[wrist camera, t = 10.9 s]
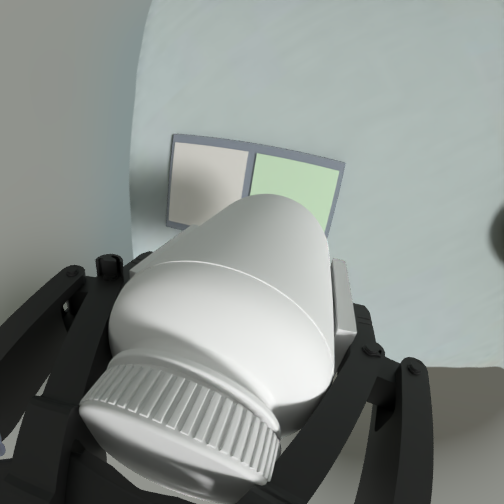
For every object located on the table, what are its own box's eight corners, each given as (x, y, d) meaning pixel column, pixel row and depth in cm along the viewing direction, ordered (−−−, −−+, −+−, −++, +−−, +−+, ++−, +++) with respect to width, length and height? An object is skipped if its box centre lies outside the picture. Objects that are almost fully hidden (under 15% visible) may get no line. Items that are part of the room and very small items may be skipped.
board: (176, 133, 30) (172, 133, 29) (344, 162, 27) (345, 163, 26) (169, 224, 35) (165, 226, 34) (319, 260, 32) (319, 264, 31)
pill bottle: (347, 213, 16) (411, 462, 3) (304, 314, 20) (264, 523, 6) (227, 174, 17) (-2, 287, 3) (203, 278, 20) (76, 443, 7)
